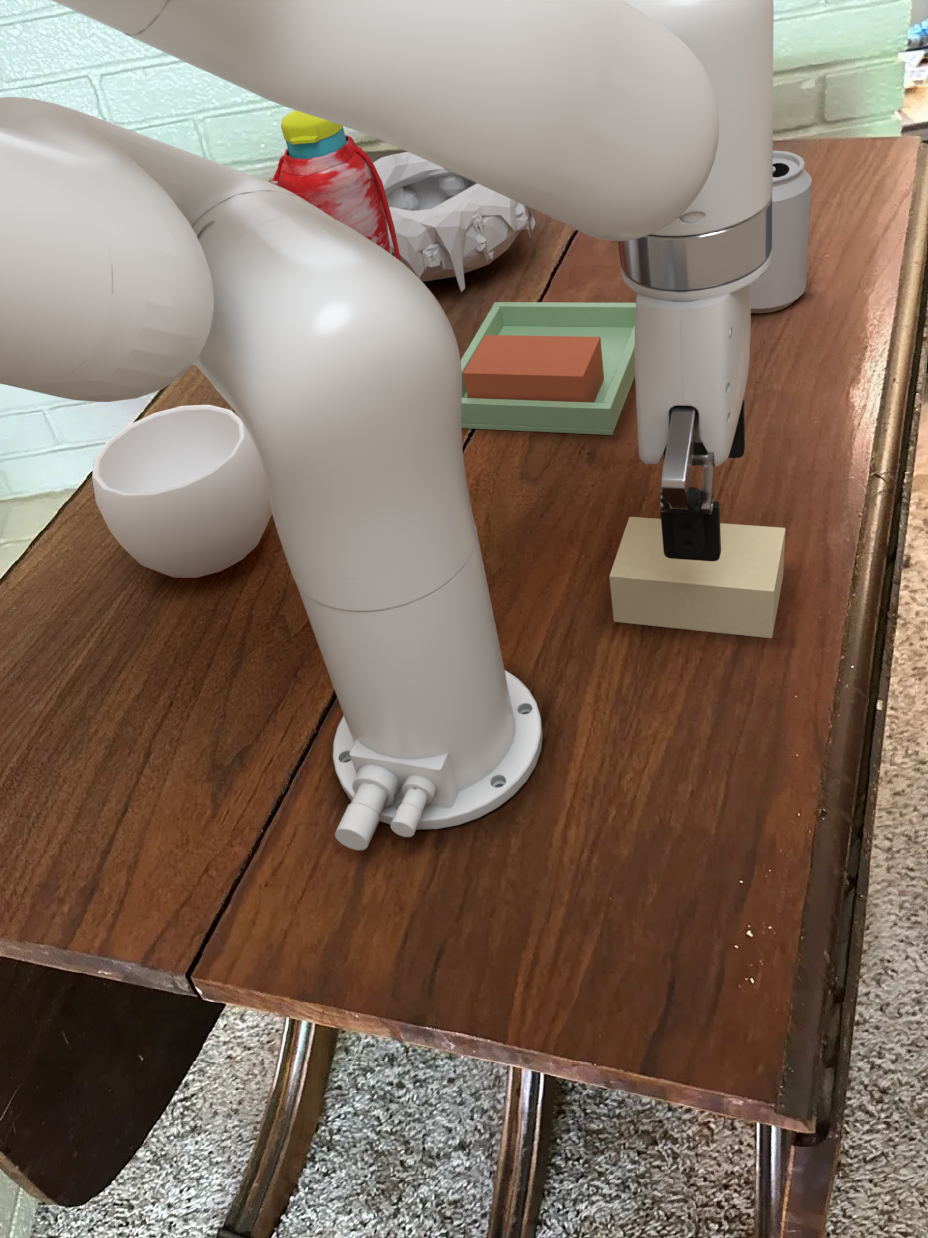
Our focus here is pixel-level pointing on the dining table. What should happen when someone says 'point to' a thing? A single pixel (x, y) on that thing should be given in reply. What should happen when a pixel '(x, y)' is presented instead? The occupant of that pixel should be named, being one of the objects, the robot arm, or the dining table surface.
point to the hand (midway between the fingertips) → (706, 503)
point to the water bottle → (334, 177)
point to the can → (786, 236)
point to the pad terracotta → (536, 368)
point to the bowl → (446, 218)
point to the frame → (559, 320)
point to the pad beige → (700, 581)
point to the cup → (183, 490)
